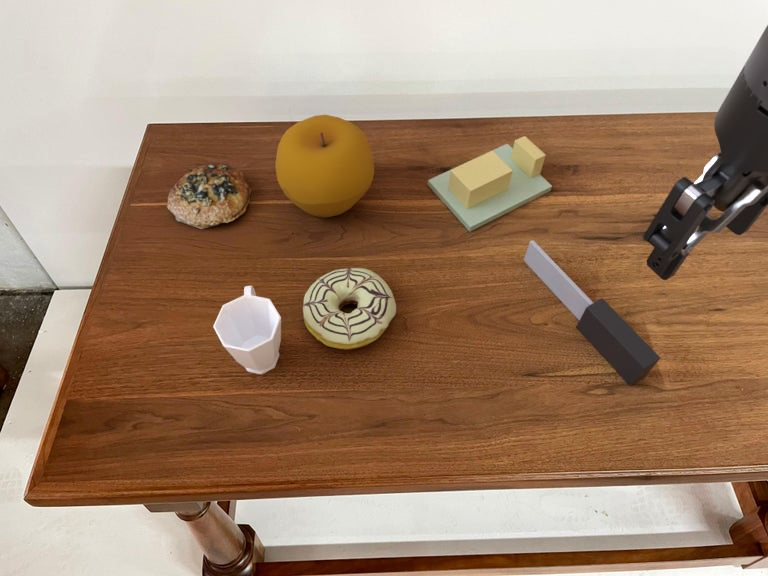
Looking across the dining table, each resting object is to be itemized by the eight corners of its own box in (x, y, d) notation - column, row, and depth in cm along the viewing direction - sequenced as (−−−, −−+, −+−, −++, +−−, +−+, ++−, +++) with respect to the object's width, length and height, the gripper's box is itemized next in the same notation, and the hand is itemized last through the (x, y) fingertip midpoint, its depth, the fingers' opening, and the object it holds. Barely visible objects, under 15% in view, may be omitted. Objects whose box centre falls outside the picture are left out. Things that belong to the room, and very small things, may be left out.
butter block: (508, 189, 83) (513, 170, 80) (467, 209, 80) (470, 191, 78) (488, 169, 85) (492, 150, 82) (448, 188, 83) (450, 169, 80)
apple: (344, 153, 88) (340, 88, 78) (393, 209, 82) (395, 145, 72) (266, 188, 84) (250, 124, 75) (311, 250, 78) (301, 188, 68)
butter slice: (540, 173, 84) (546, 154, 81) (530, 178, 84) (535, 159, 81) (520, 154, 86) (524, 135, 83) (510, 158, 86) (514, 140, 83)
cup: (230, 389, 67) (213, 356, 60) (228, 314, 72) (212, 275, 66) (293, 380, 68) (283, 346, 61) (286, 306, 73) (277, 267, 66)
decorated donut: (412, 312, 73) (413, 294, 69) (351, 372, 68) (350, 357, 65) (348, 266, 76) (347, 247, 73) (287, 320, 72) (283, 303, 69)
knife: (532, 255, 77) (539, 233, 74) (645, 376, 68) (660, 357, 64) (517, 263, 77) (524, 241, 73) (630, 386, 67) (644, 368, 63)
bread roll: (226, 159, 87) (220, 136, 82) (268, 212, 83) (263, 190, 79) (156, 196, 83) (145, 173, 79) (197, 252, 80) (187, 232, 75)
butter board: (550, 191, 84) (552, 185, 83) (469, 232, 80) (470, 227, 79) (506, 148, 88) (507, 143, 88) (427, 185, 84) (427, 180, 84)
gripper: (833, 12, 39) (718, 186, 53) (679, 85, 35) (598, 254, 49) (944, 73, 36) (791, 243, 49) (788, 163, 32) (667, 321, 45)
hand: (695, 248), depth 49 cm, fingers open, 8 cm apart
